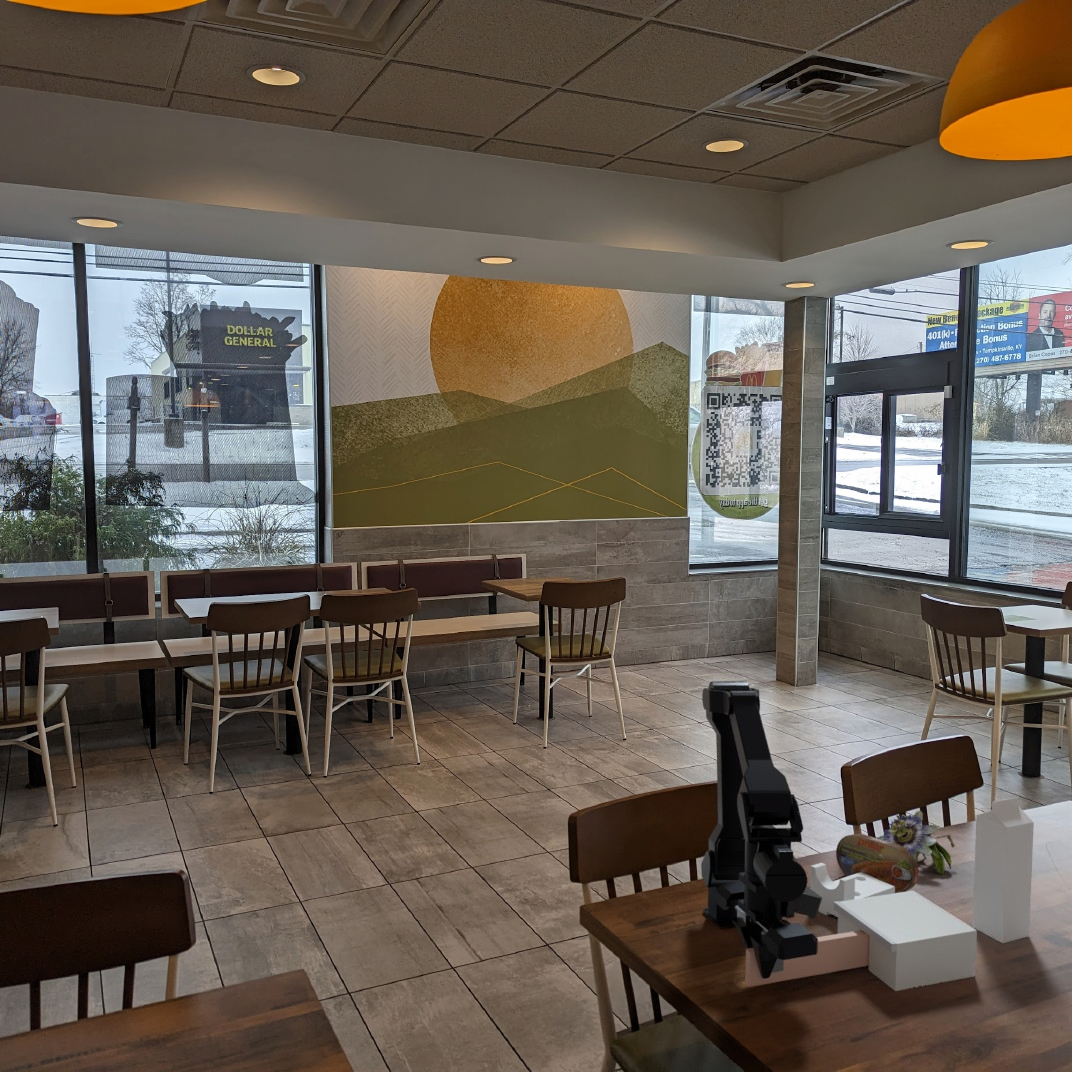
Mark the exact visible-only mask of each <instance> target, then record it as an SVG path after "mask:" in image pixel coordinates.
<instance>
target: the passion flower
mask: <svg viewBox="0 0 1072 1072" xmlns="http://www.w3.org/2000/svg"><path fill="white" fill-rule="evenodd" d="M921 810H922V809H921ZM921 810H918V811H916V812H915V814H913V815H912V814H909V815H905V814H902V815H901V816H900V815H896V818H897V819H895V818H894V819H893V821H892V820H891V821H890V822H891V823H888V824H889V826H890V827H889V829H885V830H884V832H883V835H880V836H878V837H876V838H877V839H880V840H884V841H887V842H890V843H894V844H897V845H900V846H902V847H904V848H906V849H907V850H908V851H909V852H910V853H911V854H912V855H913V857H914V858H915V860H916V862H917V863H918V859H919V856H920V854H921V855H922V856H923V857H924V859H925V858H926V859H927V857H929V856H930V857H931V859H932V861H933V863H934V866H935V869H936V870H937V873H939V874H940V875H942V874H943V875H944V874H945V867H946V865H945V861H946V863H947V865H948V867H949V870H951V869H952V859H951V855H950V854H949V852H948V851H947V849H945V847H943V846H942V845H941V844H940V843H939V842H938V841H937V839H940V838H945V837H946V838H947V839H948V840H949V842H950V845H951V848H955V847H956V845H955V842H954V841H953V838H952V836H951V834H948V835H941V836H937V837H933V836H932V834H934V833H936V832H938V830H939V825H938V824H923V822H922V821H923V817H924V813H923V811H921ZM926 856H927V857H926Z"/></svg>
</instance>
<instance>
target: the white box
mask: <svg viewBox="0 0 1072 1072" xmlns="http://www.w3.org/2000/svg"><path fill="white" fill-rule="evenodd" d="M834 910H835V911H837V912H838V917H837V932H836V934H841V933H847V932H853V931H859V930H862V931H864V932H865V933H866V934H868V935H869V936H870V941H869V966H868V971H870V972H871V973H872V974H873V975H874V976H876V977H877V978H878V979H879V980H880V981H882V982H883V983H884V984H885V985H887V986H888V987H889V988H891V989H892V990H893V991H894V992H899V991H904V990H909V988H910V989H914V988H913V987H915V988H920V987H919V986H921V987H925V985H926V986H931V985H935V984H940V983H941V982H942V983H946V982H947V983H948V982H953V981H957V980H961V979H962V980H963V979H969V978H974V977H976V966H977V965H976V964H977V962H976V961H977V960H976V959H977V937H978V936H977V935H978V934H977V933H978V930H977V929H975V928H973V927H972V926H970V925H969V924H968V923H965V922H964V921H963V920H961V919H959V918H958V917H956V916H955V915H953V914H951V913H950V912H948V911H946V910H945V909H943V908H942V907H940V906H938V905H937V904H935V903H934V902H932V901H931V900H929V899H928V898H926V897H924V896H923V895H921V894H919V893H918V892H916V891H915V890H908V891H906V892H900V893H893V894H887V895H880V896H874V897H867V898H860V899H854V900H847V901H841V902H839V901H836V902H834ZM942 983H941V984H942Z"/></svg>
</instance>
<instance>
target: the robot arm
mask: <svg viewBox="0 0 1072 1072" xmlns="http://www.w3.org/2000/svg"><path fill="white" fill-rule="evenodd" d="M701 697H702V707H703V709H704V710H705V717H706V720H707V722H708V723H709V724H710V726H711V728H712V729H713V731H714V733H715V736H716V737H715V739H716V740H715V742H716V743H715V744H716V778H717V779H716V783H717V784H716V786H717V789H716V790H717V824H716V825H715V827H714V829H713V830H712V831H711V834H710V836H709V837H708V850H706V852H705V854H704V856H703V858H702V861H701V864H700V868H701V870H700V871H701V877H702V880H703V881H704V884H705V885H706V888H707V907H706V908H703V909H702V911H703V914H704V915H705V916H707V917H708V918H709V919H710V920H711V921H712V922H713V923H714V924H715V925H716V926H717V928H719V929H728V928H734V927H735V928H736V930H737V932H738V935H739V937H740V938H741V940H742V942H743V945H744V947H745V950H746V949H748V948H754V952H755V956H756V959H757V963H758V967H759V970H760V973H761V976H762V978H763V979H765V978H769V977H770V975H771V973H772V970H773V968H774V965H775V963H776V960H777V958H778V959H781V960H788V959H793V958H799V957H805V956H811V955H816V954H817V952H818V939H817V938H816V937H817V936H815V935H814V934H813V933H812V932H811V931H810V930H809V929H808V928H807V927H805V926H804V925H802V924H801V923H800V922H793V923H791V922H789V921H788V920H787V919H791V918H795V914H798V915H799V914H800V915H802V916H806V917H809V918H810V919H816V918H817V916H818V913H819V911H818V910H819V907H820V904H821V901H822V897H821V896H820V895H818V894H817V893H815V892H814V891H813V890H811V887H808V876H807V873H806V871H805V869H804V867H803V866H802V865H801V864H802V863H800V862H799V861H798V859H797V858H796V857H795V855H794V851H793V850H792V843H802V842H803V837H802V833H803V830H804V823H803V821H802V816H801V812H800V807H799V802H798V801H797V799H796V796H795V793H793V792H792V791H791V790H790V789H791V788H790V785H789V784H788V781H787V777H786V776H785V774H783V773H782V772H781V771H780V770H779V769H778V768H776V767H775V765H774V763H773V759H772V755H771V751H770V747H769V743H768V740H767V736H766V732H765V729H764V728H765V727H764V725H763V724H764V723H763V721H762V717H761V713H760V711H761V700H760V689H757V688H755V687H750V685H749V682H748V681H745V680H743V681H742V680H741V681H740V680H739V681H738V680H737V681H736V680H734V681H732V680H731V681H727V680H725V681H718V680H717V681H714V680H713V681H710V682H709V684H708V687H704V688H703V689H702V695H701ZM788 824H789V826H790V827H775V826H787V825H788ZM783 918H786V919H783Z"/></svg>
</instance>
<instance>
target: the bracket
mask: <svg viewBox="0 0 1072 1072" xmlns="http://www.w3.org/2000/svg"><path fill="white" fill-rule="evenodd" d="M810 889H811V890H813V891H814V892H815V893H817V894H818V895H820V896H821V897H822V901H821V904H820V907H819V910H818V913H821V914H822V915H825V916H828V915H833V916H834V917H836V918H838V912H837V911H835V910H834V902H836V901H839V902H841V901H847V900H854V899H860V898H867V897H874V896H880V895H887V894H893V893H895V886H892V885H890V884H888V883H885V882H883V881H881V880H878V879H876V878H874V877H871V876H869V875H867V874H865V873H862V872H860V873H857V874H854V875H850V876H845V877H842V878H839V879H836V880H832V879H831V877H830V875H829V874H828V871H827V865H826V863H823V862H820V863H816V864H812V865H810Z"/></svg>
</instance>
